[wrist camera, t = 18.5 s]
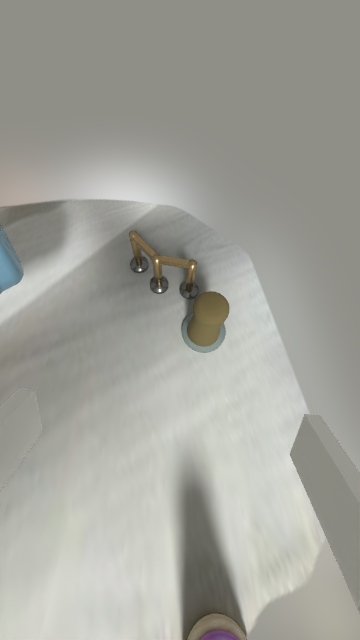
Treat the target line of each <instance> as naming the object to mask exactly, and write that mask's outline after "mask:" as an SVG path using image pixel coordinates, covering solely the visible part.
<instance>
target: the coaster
mask: <svg viewBox="0 0 360 640" xmlns="http://www.w3.org/2000/svg"><path fill="white" fill-rule="evenodd" d="M193 315H194V312H193V313H191V314H190V315H189V316H188V317H187V318H186V319H185V320H184V322H183V325H182V336H183V339H184V341H185V343H186V344H187V345H188V346H189V347H190V348H191V349H193V350H195V351H198V352H211V351H214V350H215V349H217V348H218V347H219V346H220V345H221V344H222V342H223V341H224V338H225V332H226V331H225V326H224V323H221V329H220V334H219V337H218V339H217V341H216V342H215V343H214V344H212V345H210V346H206V347H202V346H198V345H195V344H194V343H193V342H191V340H190V339H189V337H188V335H187V326H188V324H189V322H190V320H191V318H192V317H193Z"/></svg>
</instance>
